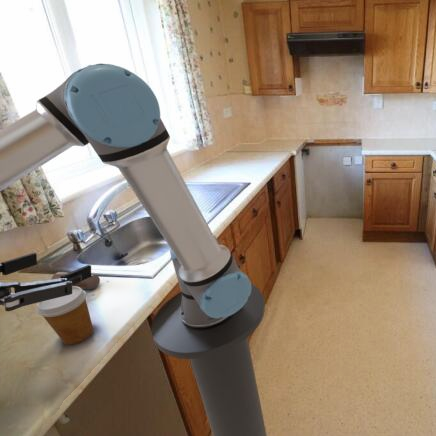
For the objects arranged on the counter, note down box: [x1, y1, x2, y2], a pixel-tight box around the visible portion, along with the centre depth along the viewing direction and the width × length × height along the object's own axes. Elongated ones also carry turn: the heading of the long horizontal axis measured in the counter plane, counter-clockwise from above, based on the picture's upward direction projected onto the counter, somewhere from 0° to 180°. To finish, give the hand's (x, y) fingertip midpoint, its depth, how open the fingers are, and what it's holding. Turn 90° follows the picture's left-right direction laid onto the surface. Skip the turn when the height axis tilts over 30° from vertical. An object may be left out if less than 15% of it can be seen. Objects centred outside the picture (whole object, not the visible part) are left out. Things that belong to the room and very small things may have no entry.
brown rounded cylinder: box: [50, 271, 101, 290], centre depth 100 cm, size 13×4×4 cm, turn 80°
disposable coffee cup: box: [36, 286, 94, 345], centre depth 79 cm, size 10×10×12 cm
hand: (62, 264), depth 72 cm, fingers open, 13 cm apart
